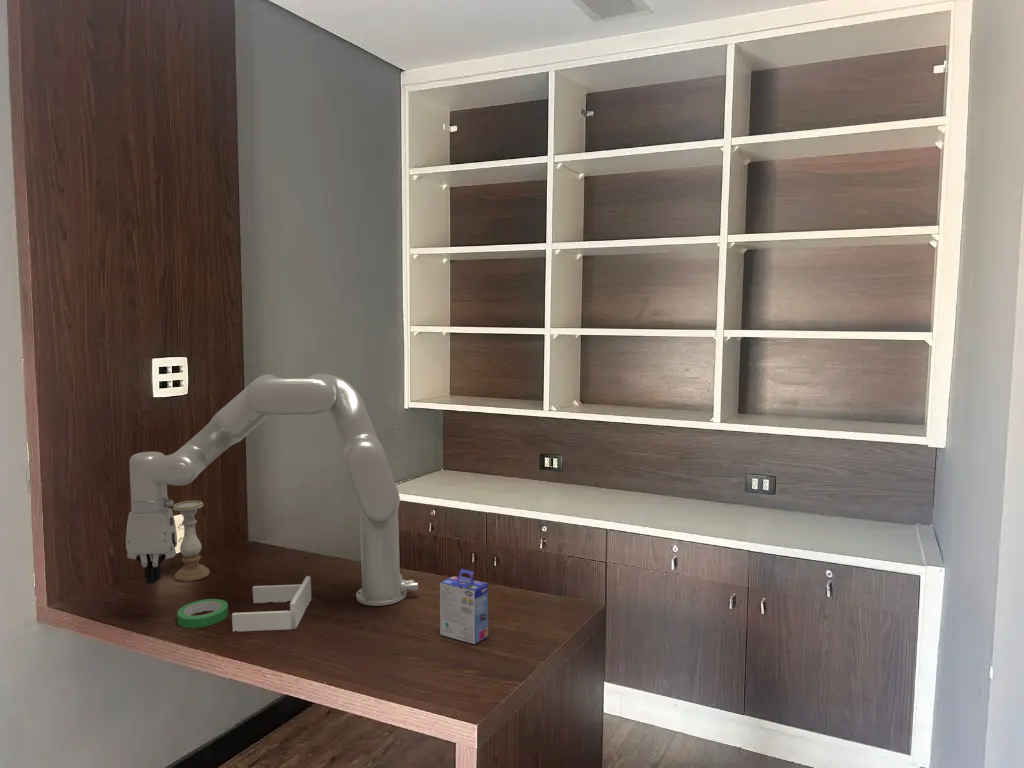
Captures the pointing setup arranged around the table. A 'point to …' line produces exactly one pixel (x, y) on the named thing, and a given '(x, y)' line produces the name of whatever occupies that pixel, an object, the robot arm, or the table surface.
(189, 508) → the candle holder
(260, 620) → the box
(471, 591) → the ink cartridge box
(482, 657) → the table surface
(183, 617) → the tape roll
